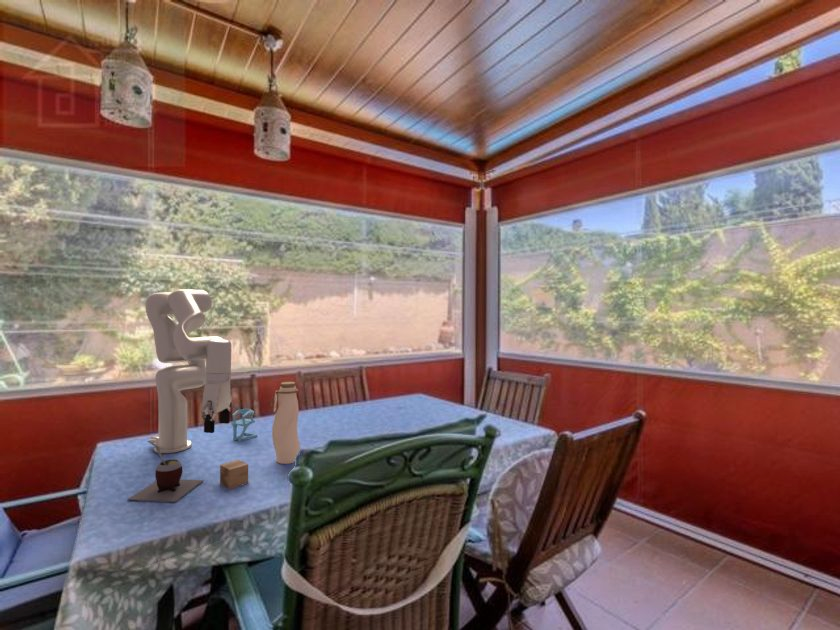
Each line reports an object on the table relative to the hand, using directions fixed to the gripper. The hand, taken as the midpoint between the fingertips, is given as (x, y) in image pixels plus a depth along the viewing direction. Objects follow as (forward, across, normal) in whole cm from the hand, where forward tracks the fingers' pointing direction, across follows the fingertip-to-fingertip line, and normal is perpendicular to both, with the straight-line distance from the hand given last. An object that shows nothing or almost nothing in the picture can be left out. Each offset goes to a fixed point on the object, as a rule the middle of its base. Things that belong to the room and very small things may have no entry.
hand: (217, 427), depth 141 cm
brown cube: (+14, +8, +10) cm, 20 cm away
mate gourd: (+14, +15, -7) cm, 22 cm away
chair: (+16, -34, -7) cm, 38 cm away
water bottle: (+15, -12, +19) cm, 27 cm away
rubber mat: (+15, +15, -7) cm, 22 cm away
